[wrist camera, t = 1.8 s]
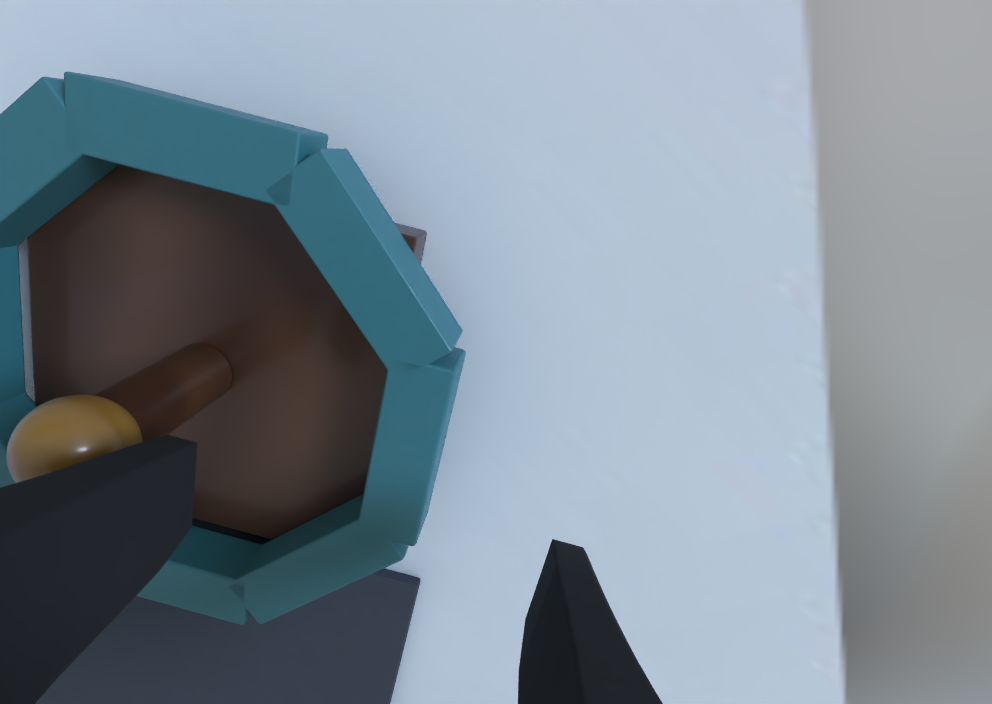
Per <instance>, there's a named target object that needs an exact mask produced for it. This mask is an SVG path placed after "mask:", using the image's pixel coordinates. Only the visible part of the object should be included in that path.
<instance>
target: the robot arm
mask: <svg viewBox="0 0 992 704" xmlns="http://www.w3.org/2000/svg"><path fill="white" fill-rule="evenodd" d="M197 444H198V443H197V442H193V441H189V440H186V439H182V438H178V437H175V436H171V435H165V436H161V437H158V438H154V439H151V440H147V441H144V442H141V443H138V444H135V445H132V446H129V447H126V448H123V449H120V450H117V451H114V452H111V453H108V454H105V455H102V456H99V457H96V458H93V459H90V460H87V461H84V462H81V463H78V464H75V465H72V466H69V467H66V468H63V469H60V470H57V471H54V472H51V473H48V474H45V475H41V476H38V477H35V478H31V479H28V480H25V481H21V482H18V483H15V484H11V485H8V486H4V487H1V488H0V704H35V703H36V702H37V701H38V700H39V699H40V697H41V696H42V695H43V694H44V693H45V692H46V691H47V689H48V688H49V687H50V686H51V685H52V684H53V683H54V682H55V681H56V679H57V678H58V677H59V676H60V675H61V674H62V673H63V672H64V671H65V670H66V669H67V667H68V666H69V665H70V664H71V663H72V662H73V661H74V660H75V659H76V658H77V657H78V656H79V655H80V654H81V653H82V652H83V651H84V650H85V649H86V648H87V647H88V646H89V645H90V644H91V643H92V641H93V640H94V639H95V638H96V637H97V636H98V635H99V634H100V633H101V632H102V631H103V630H104V629H105V628H106V627H107V626H108V625H109V624H110V623H111V622H112V621H113V620H114V619H115V618H116V617H117V615H118V614H119V613H120V612H121V611H122V610H123V609H124V608H125V607H126V606H127V605H128V604H129V603H130V602H131V601H132V600H133V599H134V598H135V597H136V596H137V594H138V593H139V592H140V591H141V590H142V589H143V588H144V587H145V586H146V585H147V584H148V583H149V582H150V581H151V580H152V579H153V577H154V576H155V575H156V574H157V573H158V572H159V571H160V570H161V568H162V567H163V566H164V564H165V563H166V562H167V560H168V559H169V558H170V557H171V555H172V554H173V553H174V551H175V550H176V549H177V547H178V546H179V544H180V543H181V542H182V540H183V539H184V537H185V536H186V535H187V533H188V532H189V530H190V529H191V528H192V519H193V504H194V489H195V474H196V459H197ZM518 704H663V703H662V702H661V700H660V699H659V697H658V695H657V694H656V692H655V690H654V689H653V687H652V685H651V684H650V682H649V680H648V678H647V677H646V675H645V673H644V671H643V670H642V668H641V666H640V664H639V663H638V661H637V659H636V657H635V655H634V653H633V652H632V650H631V648H630V646H629V644H628V642H627V640H626V638H625V636H624V634H623V632H622V630H621V628H620V626H619V624H618V622H617V620H616V618H615V616H614V614H613V612H612V610H611V608H610V606H609V604H608V602H607V599H606V597H605V595H604V593H603V591H602V588H601V586H600V584H599V582H598V579H597V577H596V575H595V572H594V570H593V568H592V565H591V563H590V561H589V558H588V556H587V554H586V552H585V550H584V548H583V547H579V546H576V545H572V544H568V543H565V542H561V541H557V540H554V539H552V542H551V545H550V548H549V551H548V554H547V557H546V560H545V563H544V566H543V569H542V572H541V575H540V578H539V581H538V584H537V587H536V590H535V593H534V596H533V599H532V601H531V604H530V607H529V610H528V613H527V616H526V620H525V627H524V635H523V642H522V650H521V658H520V666H519V686H518Z"/></svg>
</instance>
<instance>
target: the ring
mask: <svg viewBox="0 0 992 704" xmlns="http://www.w3.org/2000/svg"><path fill="white" fill-rule="evenodd" d="M327 141H328V135H327V134H325V133H321V132H317V131H313V130H309V129H305V128H301V127H298V126H294V125H290V124H286V123H282V122H278V121H275V120H271V119H267V118H263V117H259V116H255V115H252V114H248V113H244V112H240V111H236V110H232V109H228V108H225V107H221V106H217V105H213V104H209V103H205V102H202V101H198V100H194V99H190V98H186V97H182V96H179V95H175V94H171V93H167V92H163V91H159V90H155V89H152V88H148V87H144V86H140V85H136V84H132V83H129V82H125V81H121V80H116V79H110V78H104V77H97V76H91V75H85V74H79V73H73V72H65V73H64V80H63V79H57V78H50V77H42V78H40V79H39V80H38V81H37V82H36V83H35V84H34V85H33V86H31V87H30V88H29V89H28V90H27V91H26V92H25V93H24V94H23V95H21V96H20V97H19V98H18V99H17V100H16V101H15V102H14V103H13V104H11V105H10V106H9V107H8V108H7V109H6V110H5V111H4V112H3V113H1V114H0V488H1V487H4V486H8V485H11V484H15V481H14V480H13V478H12V476H11V474H10V472H9V469H8V465H7V459H6V454H7V446H8V442H9V439H10V437H11V434H12V432H13V431H14V429H15V427H16V426H17V424H18V423H19V422H20V421H21V420H22V419H23V418H24V416H26V415H27V414H28V413H29V412H31V411H32V410H33V409H34V408H36V407H38V406H37V405H36V404H35V403H34V402H33V401H32V400H31V398H30V397H29V396H28V395H27V394H26V392H25V373H24V353H23V334H22V314H21V294H20V275H19V255H18V244H20V243H21V242H22V241H23V240H25V239H26V238H27V237H28V236H30V235H31V234H32V233H34V232H35V231H36V230H37V229H39V228H40V227H41V226H42V225H44V224H45V223H46V222H47V221H49V220H50V219H51V218H52V217H54V216H55V215H56V214H57V213H59V212H60V211H61V210H62V209H64V208H65V207H66V206H67V205H69V204H70V203H71V202H72V201H74V200H75V199H76V198H77V197H79V196H80V195H81V194H82V193H84V192H85V191H86V190H87V189H89V188H90V187H91V186H93V185H94V184H95V183H96V182H98V181H99V180H100V179H101V178H103V177H104V176H105V175H106V174H108V173H109V172H110V171H111V170H113V169H114V168H115V167H116V166H118V165H119V164H120V165H124V166H128V167H132V168H135V169H139V170H143V171H147V172H151V173H154V174H158V175H162V176H166V177H170V178H173V179H177V180H181V181H185V182H189V183H192V184H196V185H200V186H204V187H208V188H211V189H215V190H219V191H223V192H227V193H231V194H234V195H238V196H242V197H246V198H250V199H253V200H257V201H261V202H265V203H269V204H272V205H275V206H276V208H277V209H278V211H279V212H280V214H281V215H282V217H283V218H284V220H285V221H286V223H287V224H288V225H289V227H290V228H291V230H292V231H293V233H294V234H295V236H296V237H297V239H298V240H299V241H300V243H301V244H302V246H303V247H304V249H305V250H306V252H307V253H308V255H309V256H310V258H311V259H312V260H313V262H314V263H315V265H316V266H317V268H318V269H319V271H320V272H321V274H322V275H323V276H324V278H325V279H326V281H327V282H328V284H329V285H330V287H331V288H332V290H333V291H334V293H335V294H336V295H337V297H338V298H339V300H340V301H341V303H342V304H343V306H344V307H345V309H346V310H347V311H348V313H349V314H350V316H351V317H352V319H353V320H354V322H355V323H356V325H357V326H358V328H359V329H360V330H361V332H362V333H363V335H364V336H365V338H366V339H367V341H368V342H369V344H370V345H371V346H372V348H373V349H374V351H375V352H376V354H377V355H378V357H379V358H380V360H381V361H382V363H383V364H384V365H385V367H386V368H387V372H386V377H385V383H384V388H383V393H382V398H381V404H380V409H379V414H378V420H377V425H376V430H375V435H374V441H373V446H372V451H371V456H370V462H369V467H368V472H367V478H366V483H365V488H364V493H363V494H362V495H360V496H358V497H356V498H354V499H352V500H350V501H348V502H346V503H344V504H342V505H340V506H338V507H336V508H334V509H332V510H330V511H328V512H326V513H324V514H322V515H320V516H318V517H316V518H314V519H312V520H310V521H308V522H306V523H304V524H302V525H300V526H298V527H296V528H294V529H292V530H290V531H288V532H286V533H284V534H282V535H281V536H279V537H277V538H275V539H273V540H271V541H269V542H267V543H265V544H263V545H262V544H258V543H254V542H251V541H247V540H243V539H240V538H236V537H232V536H229V535H225V534H221V533H218V532H214V531H210V530H207V529H203V528H199V527H196V526H192V528H191V529H190V530H189V532H188V533H187V535H186V536H185V537H184V539H183V540H182V542H181V543H180V544H179V546H178V547H177V549H176V550H175V551H174V553H173V554H172V555H171V557H170V558H169V559H168V560H167V562H166V563H165V564H164V566H163V567H162V568H161V570H160V571H159V572H158V573H157V574H156V575H155V576H154V577H153V579H152V580H151V581H150V582H149V583H148V584H147V585H146V586H145V587H144V588H143V589H142V590H141V591H140V592H139V593H138V594H137V596H138V597H142V598H146V599H149V600H153V601H157V602H160V603H164V604H168V605H171V606H175V607H178V608H182V609H186V610H189V611H193V612H197V613H200V614H204V615H207V616H211V617H215V618H218V619H222V620H226V621H229V622H233V623H237V624H240V625H243V624H244V623H245V622H246V621H247V619H248V618H249V616H250V615H252V616H253V617H254V618H255V619H256V621H257V622H258V623H259V624H263V623H265V622H267V621H270V620H272V619H274V618H276V617H278V616H280V615H283V614H285V613H287V612H289V611H291V610H294V609H296V608H298V607H300V606H302V605H304V604H307V603H309V602H311V601H313V600H315V599H318V598H320V597H322V596H324V595H326V594H329V593H331V592H333V591H335V590H337V589H339V588H342V587H344V586H346V585H348V584H350V583H353V582H355V581H357V580H359V579H361V578H364V577H366V576H368V575H370V574H372V573H374V572H377V571H379V570H381V569H383V568H385V567H388V566H390V565H392V564H394V563H396V562H398V561H401V560H402V559H403V558H404V556H405V554H406V551H407V549H408V546H409V545H410V546H414V545H415V544H416V542H417V540H418V537H419V534H420V532H421V529H422V526H423V523H424V521H425V518H426V515H427V512H428V509H429V504H430V500H431V496H432V492H433V488H434V484H435V479H436V475H437V471H438V467H439V463H440V458H441V454H442V450H443V446H444V442H445V438H446V433H447V429H448V425H449V421H450V417H451V413H452V408H453V404H454V400H455V396H456V392H457V387H458V383H459V379H460V375H461V371H462V367H463V362H464V358H465V351H464V350H462V349H459V348H455V347H454V346H455V344H456V342H457V341H458V339H459V337H460V335H461V333H462V329H461V327H460V326H459V324H458V323H457V321H456V319H455V318H454V316H453V315H452V313H451V312H450V310H449V308H448V307H447V305H446V304H445V302H444V301H443V299H442V297H441V296H440V294H439V293H438V291H437V290H436V288H435V286H434V285H433V283H432V282H431V280H430V279H429V277H428V275H427V274H426V272H425V271H424V269H423V268H422V266H421V264H420V263H419V261H418V260H417V258H416V257H415V255H414V253H413V252H412V250H411V249H410V247H409V246H408V244H407V242H406V241H405V239H404V238H403V236H402V235H401V233H400V231H399V230H398V228H397V227H396V225H395V224H394V222H393V220H392V219H391V217H390V216H389V214H388V213H387V211H386V209H385V208H384V206H383V205H382V203H381V202H380V200H379V198H378V197H377V195H376V194H375V192H374V191H373V189H372V187H371V186H370V184H369V183H368V181H367V180H366V178H365V176H364V175H363V173H362V172H361V170H360V169H359V167H358V166H357V164H356V162H355V161H354V159H353V158H352V156H351V155H350V153H349V151H348V150H347V149H327Z"/></svg>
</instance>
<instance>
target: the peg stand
mask: <svg viewBox="0 0 992 704" xmlns="http://www.w3.org/2000/svg"><path fill="white" fill-rule="evenodd" d="M394 224H395V225H396V227H397V228H398V230H399V231H400V233H401V235H402V236H403V238H404V239H405V241H406V242H407V244H408V246H409V247H410V249H411V250H412V252H413V253H414V255H415V257H416V258H417V260H418V261H419V263H420V264H421V260H422V255H423V250H424V245H425V240H426V235H427V233H426V231H424V230H420V229H416V228H412V227H408V226H405V225H401V224H397V223H394ZM28 260H29V282H30V304H31V326H32V349H33V371H34V393H35V404H36V405H37V406H38V407H36V408H34V409H33V410H32V411H31V412H29V413H28V414H27V415H26V416H24V418H23V419H22V420H21V421H20V422H19V423H18V424H17V426H16V427H15V429H14V431H13V432H12V434H11V437H10V439H9V442H8V446H7V454H6V459H7V465H8V469H9V472H10V474H11V476H12V478H13V480H14V481H15V483H18V482H21V481H25V480H28V479H31V478H35V477H38V476H41V475H45V474H48V473H51V472H54V471H57V470H60V469H63V468H66V467H69V466H72V465H75V464H78V463H81V462H84V461H87V460H90V459H93V458H96V457H99V456H102V455H105V454H108V453H111V452H114V451H117V450H120V449H123V448H126V447H129V446H132V445H135V444H138V443H141V442H144V441H147V440H151V439H154V438H158V437H161V436H165V435H171V436H175V437H178V438H182V439H186V440H189V441H193V442H197V443H198V444H197V459H196V474H195V489H194V504H193V518H195V519H199V520H203V521H206V522H210V523H214V524H217V525H221V526H225V527H228V528H232V529H236V530H239V531H243V532H247V533H250V534H254V535H258V536H261V537H265V538H269V539H272V540H273V539H275V538H277V537H279V536H281V535H282V534H284V533H286V532H288V531H290V530H292V529H294V528H296V527H298V526H300V525H302V524H304V523H306V522H308V521H310V520H312V519H314V518H316V517H318V516H320V515H322V514H324V513H326V512H328V511H330V510H332V509H334V508H336V507H338V506H340V505H342V504H344V503H346V502H348V501H350V500H352V499H354V498H356V497H358V496H360V495H362V494H363V493H364V488H365V483H366V478H367V472H368V467H369V462H370V456H371V451H372V446H373V441H374V435H375V430H376V425H377V420H378V414H379V409H380V404H381V398H382V393H383V388H384V383H385V377H386V372H387V368H386V367H385V365H384V364H383V363H382V361H381V360H380V358H379V357H378V355H377V354H376V352H375V351H374V349H373V348H372V346H371V345H370V344H369V342H368V341H367V339H366V338H365V336H364V335H363V333H362V332H361V330H360V329H359V328H358V326H357V325H356V323H355V322H354V320H353V319H352V317H351V316H350V314H349V313H348V311H347V310H346V309H345V307H344V306H343V304H342V303H341V301H340V300H339V298H338V297H337V295H336V294H335V293H334V291H333V290H332V288H331V287H330V285H329V284H328V282H327V281H326V279H325V278H324V276H323V275H322V274H321V272H320V271H319V269H318V268H317V266H316V265H315V263H314V262H313V260H312V259H311V258H310V256H309V255H308V253H307V252H306V250H305V249H304V247H303V246H302V244H301V243H300V241H299V240H298V239H297V237H296V236H295V234H294V233H293V231H292V230H291V228H290V227H289V225H288V224H287V223H286V221H285V220H284V218H283V217H282V215H281V214H280V212H279V211H278V209H277V208H276V206H275V205H272V204H269V203H265V202H261V201H257V200H253V199H250V198H246V197H242V196H238V195H234V194H231V193H227V192H223V191H219V190H215V189H211V188H208V187H204V186H200V185H196V184H192V183H189V182H185V181H181V180H177V179H173V178H170V177H166V176H162V175H158V174H154V173H151V172H147V171H143V170H139V169H135V168H132V167H128V166H124V165H120V164H119V165H118V166H116V167H115V168H114V169H113V170H111V171H110V172H109V173H108V174H106V175H105V176H104V177H103V178H101V179H100V180H99V181H98V182H96V183H95V184H94V185H93V186H91V187H90V188H89V189H87V190H86V191H85V192H84V193H82V194H81V195H80V196H79V197H77V198H76V199H75V200H74V201H72V202H71V203H70V204H69V205H67V206H66V207H65V208H64V209H62V210H61V211H60V212H59V213H57V214H56V215H55V216H54V217H52V218H51V219H50V220H49V221H47V222H46V223H45V224H44V225H42V226H41V227H40V228H39V229H37V230H36V231H35V232H34V233H32V234H31V235H30V236H28Z"/></svg>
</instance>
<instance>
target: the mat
mask: <svg viewBox="0 0 992 704" xmlns="http://www.w3.org/2000/svg"><path fill="white" fill-rule="evenodd" d="M192 526H196V527H199V528H203V529H207V530H210V531H214V532H218V533H221V534H225V535H229V536H232V537H236V538H240V539H243V540H247V541H251V542H254V543H258V544H262V545H263V544H265V543H267V542H269V541H271V540H272V539H269V538H265V537H261V536H258V535H254V534H250V533H247V532H243V531H239V530H236V529H232V528H228V527H225V526H221V525H217V524H214V523H210V522H206V521H203V520H199V519H195V518H193V519H192ZM419 584H420V578H416V577H412V576H409V575H405V574H401V573H398V572H394V571H390V570H387V569H381V570H379V571H377V572H374V573H372V574H370V575H368V576H366V577H364V578H361V579H359V580H357V581H355V582H353V583H350V584H348V585H346V586H344V587H342V588H339V589H337V590H335V591H333V592H331V593H329V594H326V595H324V596H322V597H320V598H318V599H315V600H313V601H311V602H309V603H307V604H304V605H302V606H300V607H298V608H296V609H294V610H291V611H289V612H287V613H285V614H283V615H280V616H278V617H276V618H274V619H272V620H270V621H267V622H265V623H263V624H259V623H258V622H257V621H256V619H255V618H254V617H253V616H252V615H250V616H249V618H248V619H247V621H246V622H245V623H244V624H243V625H240V624H237V623H233V622H229V621H226V620H222V619H218V618H215V617H211V616H207V615H204V614H200V613H197V612H193V611H189V610H186V609H182V608H178V607H175V606H171V605H168V604H164V603H160V602H157V601H153V600H149V599H146V598H142V597H138V596H136V597H135V598H134V599H133V600H132V601H131V602H130V603H129V604H128V605H127V606H126V607H125V608H124V609H123V610H122V611H121V612H120V613H119V614H118V615H117V617H116V618H115V619H114V620H113V621H112V622H111V623H110V624H109V625H108V626H107V627H106V628H105V629H104V630H103V631H102V632H101V633H100V634H99V635H98V636H97V637H96V638H95V639H94V640H93V641H92V643H91V644H90V645H89V646H88V647H87V648H86V649H85V650H84V651H83V652H82V653H81V654H80V655H79V656H78V657H77V658H76V659H75V660H74V661H73V662H72V663H71V664H70V665H69V666H68V667H67V669H66V670H65V671H64V672H63V673H62V674H61V675H60V676H59V677H58V678H57V679H56V681H55V682H54V683H53V684H52V685H51V686H50V687H49V688H48V689H47V691H46V692H45V693H44V694H43V695H42V696H41V697H40V699H39V700H38V701H37V702H36V703H35V704H390V702H391V698H392V694H393V690H394V686H395V682H396V678H397V674H398V669H399V665H400V661H401V657H402V653H403V649H404V645H405V641H406V637H407V633H408V629H409V625H410V621H411V617H412V613H413V609H414V605H415V600H416V596H417V592H418V588H419Z"/></svg>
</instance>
